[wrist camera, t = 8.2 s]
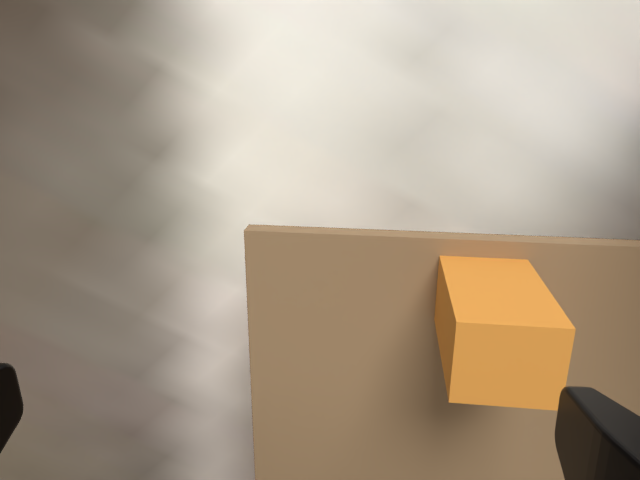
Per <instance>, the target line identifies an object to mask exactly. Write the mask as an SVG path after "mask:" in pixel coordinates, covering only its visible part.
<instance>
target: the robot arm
mask: <svg viewBox="0 0 640 480" xmlns="http://www.w3.org/2000/svg"><path fill="white" fill-rule="evenodd" d="M22 414H23V401H22V396H21V392H20V388H19V383H18V379H17V375H16V371H15V369H14V368H13V366H12V365H10V364H7V363H0V453H1V451H2V450H3V448H4V446H5V445H6V443H7V441H8V440H9V438H10V436H11V435H12V433H13V431H14V430H15V428H16V426H17V425H18V423H19V421H20V419H21V417H22ZM555 445H556V450H557V453H558V457H559V461H560V464H561V468H562V471H563V475H564V479H565V480H640V416H638V415H637V414H635V413H633V412H632V411H630V410H628V409H627V408H625V407H623V406H622V405H620V404H619V403H617V402H615V401H614V400H612V399H610V398H609V397H607V396H605V395H604V394H602V393H600V392H599V391H597V390H595V389H594V388H591V387H578V386H566V387H564V388H563V389H562V391H561V393H560V397H559V404H558V411H557V418H556V425H555Z"/></svg>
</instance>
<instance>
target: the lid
mask: <svg viewBox="0 0 640 480" xmlns="http://www.w3.org/2000/svg"><path fill="white" fill-rule="evenodd" d="M244 242H245V264H246V286H247V308H248V330H249V352H250V374H251V396H252V419H253V441H254V463H255V480H565V479H564V475H563V471H562V468H561V464H560V461H559V457H558V453H557V450H556V445H555V425H556V418H557V411H558V404H559V397H560V393H561V391H562V389H563V388H564V387H566V386H578V387H591V388H594V389H595V390H597V391H599V392H600V393H602V394H604V395H605V396H607V397H609V398H610V399H612V400H614V401H615V402H617V403H619V404H620V405H622V406H623V407H625V408H627V409H628V410H630V411H632V412H633V413H635V414H637V415H638V416H640V240H624V239H599V238H574V237H549V236H524V235H499V234H474V233H449V232H424V231H399V230H374V229H349V228H324V227H299V226H274V225H248V226H247V228H246V229H245V230H244Z"/></svg>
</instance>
